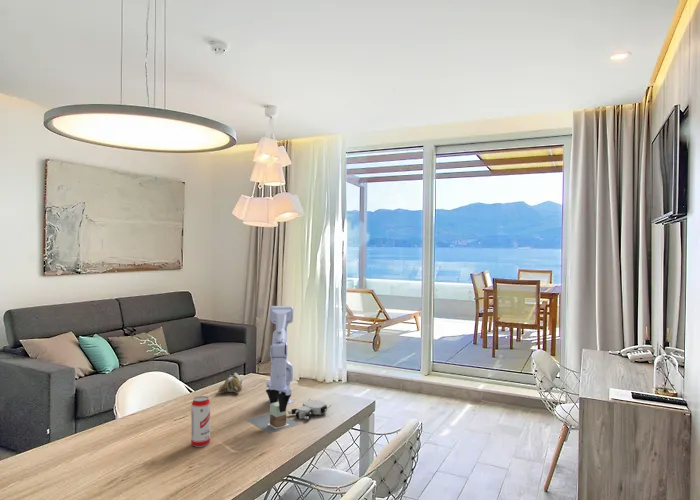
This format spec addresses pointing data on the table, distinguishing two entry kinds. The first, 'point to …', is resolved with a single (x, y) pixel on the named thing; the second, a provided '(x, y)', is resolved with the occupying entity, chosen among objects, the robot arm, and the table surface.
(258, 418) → the board
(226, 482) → the table surface
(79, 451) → the table surface
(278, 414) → the sage block
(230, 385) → the ceramic sculpture
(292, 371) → the robot arm
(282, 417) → the walnut block
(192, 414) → the beer can
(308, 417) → the robot toy
